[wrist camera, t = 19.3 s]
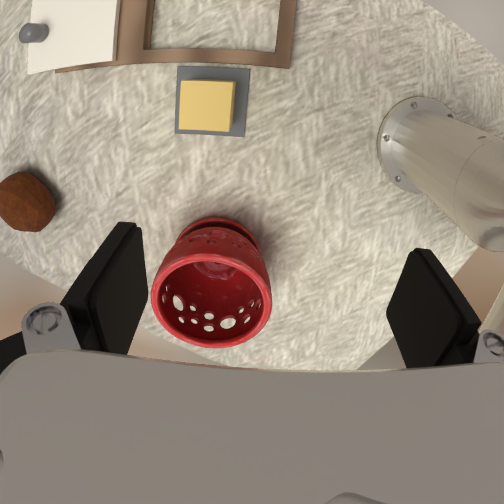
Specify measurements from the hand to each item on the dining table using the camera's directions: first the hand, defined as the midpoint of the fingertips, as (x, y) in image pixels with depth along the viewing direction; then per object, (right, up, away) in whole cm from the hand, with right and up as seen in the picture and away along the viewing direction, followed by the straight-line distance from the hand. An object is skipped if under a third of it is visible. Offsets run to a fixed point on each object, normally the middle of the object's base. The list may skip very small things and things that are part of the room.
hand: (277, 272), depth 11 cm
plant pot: (-5, +1, +33) cm, 34 cm away
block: (-5, +17, +22) cm, 29 cm away
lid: (-21, +26, +14) cm, 36 cm away
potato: (-32, +9, +28) cm, 44 cm away
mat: (-5, +18, +22) cm, 29 cm away
